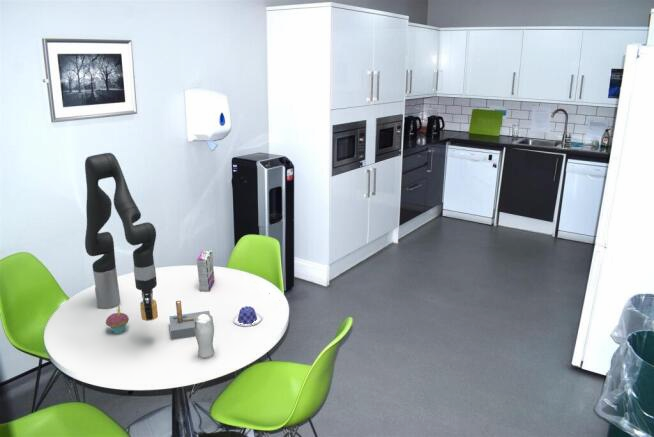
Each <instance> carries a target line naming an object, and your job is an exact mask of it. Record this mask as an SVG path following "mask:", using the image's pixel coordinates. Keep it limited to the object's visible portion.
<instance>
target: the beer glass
mask: <svg viewBox="0 0 654 437" xmlns="http://www.w3.org/2000/svg"><path fill="white" fill-rule="evenodd" d="M194 330H195V336H194V337H195V339H196V343H197V347H198V348H197V350H198V351H197V356H198V357H199V358H200V359H210V358H212V357H213V356H214V355H215V350H214V336H215V326H214V318H213V316H212V315H211V314H210V315H209V314H201V315H198V316H196V317H195V318H194Z"/></svg>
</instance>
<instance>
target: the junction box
mask: <svg viewBox="0 0 654 437" xmlns="http://www.w3.org/2000/svg"><path fill="white" fill-rule="evenodd" d="M201 314H209V315H211V312H210V310H204V311H203V310H202V311H198V312H197V311H196V312H191V313H189V312H188V313H184V314H183V313H182V317H183V322H182V323H178V320H177V314H176V315H175V314H174V315H171V316H169V327H170V338H171V341H172V340H173V341H174V340H180V339H186V338H192V337H196V336H195V330H194V318H195V317H196V316H198V315H201Z"/></svg>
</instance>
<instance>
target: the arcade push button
mask: <svg viewBox="0 0 654 437" xmlns="http://www.w3.org/2000/svg"><path fill="white" fill-rule="evenodd" d="M157 304H158V303H157V300H156V299H153V304H152V316H153V319H151V320H147V319H146V312H145V308H144V305H143V300H142V301H141V302H140V303H139V306H140V317H141V320H142V321H145V322H149V321H154V320H156V319H158V317H159V315H158V305H157ZM146 308H150V307H146Z"/></svg>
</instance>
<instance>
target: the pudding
mask: <svg viewBox="0 0 654 437" xmlns="http://www.w3.org/2000/svg"><path fill="white" fill-rule="evenodd" d="M257 316H259V318H260V320H259V322H257V323H255V322H254V321H256V320H257ZM232 318H233V319H232V322H233V323H234V324H236V325H237V326H241V327H249V326H254V325H257V324H259V323H260V322H261V321H262V319H263V317H262V315H261V314H260V313H258V312H256V311H255V308H254V307H252V306H251V305H250V306H247V305H246V306H243V307H241V308H240V309H239V312H238V314H236V315H234V316H233V317H232ZM237 318H238V323H243V325H240V324H238V323H237V322H235V319H237ZM253 322H254V323H255V324H252V323H253ZM245 324H247V325H245ZM249 324H252V325H249Z"/></svg>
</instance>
